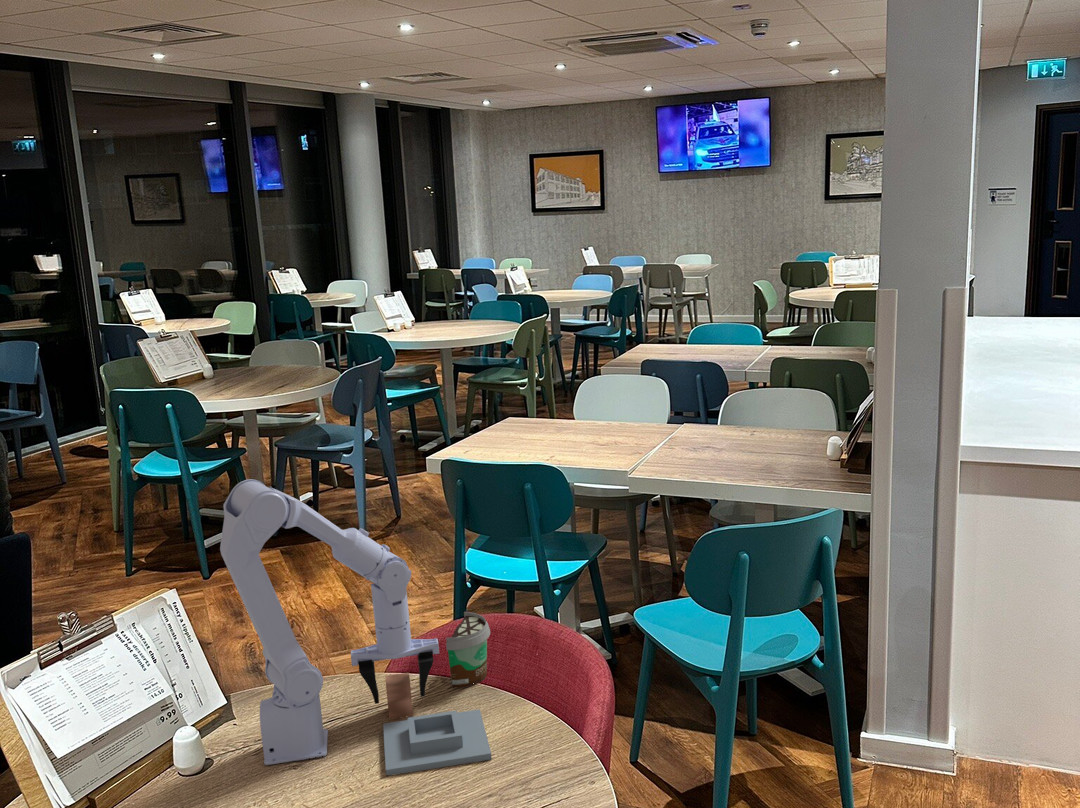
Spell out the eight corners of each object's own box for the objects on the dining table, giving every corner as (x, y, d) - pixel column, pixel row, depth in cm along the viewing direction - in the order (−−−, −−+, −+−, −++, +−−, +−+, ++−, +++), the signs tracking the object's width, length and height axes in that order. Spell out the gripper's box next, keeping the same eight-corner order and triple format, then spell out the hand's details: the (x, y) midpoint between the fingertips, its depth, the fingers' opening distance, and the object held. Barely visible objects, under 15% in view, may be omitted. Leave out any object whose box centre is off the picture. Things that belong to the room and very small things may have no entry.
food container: (483, 693, 167) (479, 640, 165) (449, 692, 168) (445, 639, 166) (500, 661, 179) (496, 611, 177) (468, 660, 180) (464, 610, 178)
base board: (386, 776, 143) (384, 757, 143) (383, 729, 157) (382, 712, 156) (491, 759, 146) (490, 741, 146) (480, 714, 160) (478, 698, 159)
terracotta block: (389, 719, 160) (386, 686, 159) (388, 708, 164) (385, 675, 163) (413, 716, 161) (410, 683, 160) (411, 704, 165) (408, 672, 163)
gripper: (433, 607, 164) (440, 680, 167) (348, 618, 162) (356, 692, 164) (437, 623, 158) (444, 699, 160) (347, 635, 155) (356, 712, 158)
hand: (399, 697), depth 162 cm, fingers open, 7 cm apart
